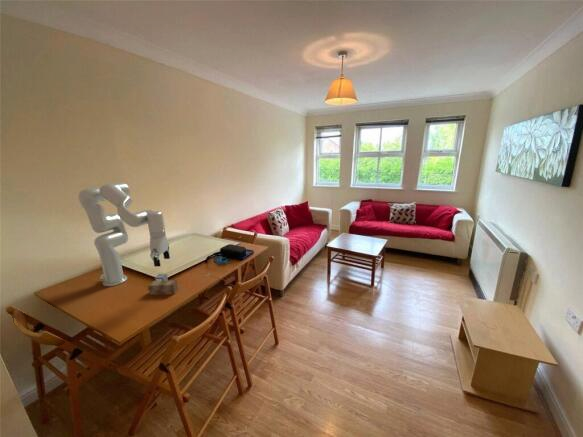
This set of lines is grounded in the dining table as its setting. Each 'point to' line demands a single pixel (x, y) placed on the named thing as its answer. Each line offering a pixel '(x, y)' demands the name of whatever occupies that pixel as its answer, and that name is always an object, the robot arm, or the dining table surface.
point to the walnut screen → (163, 287)
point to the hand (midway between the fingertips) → (162, 262)
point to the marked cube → (161, 277)
